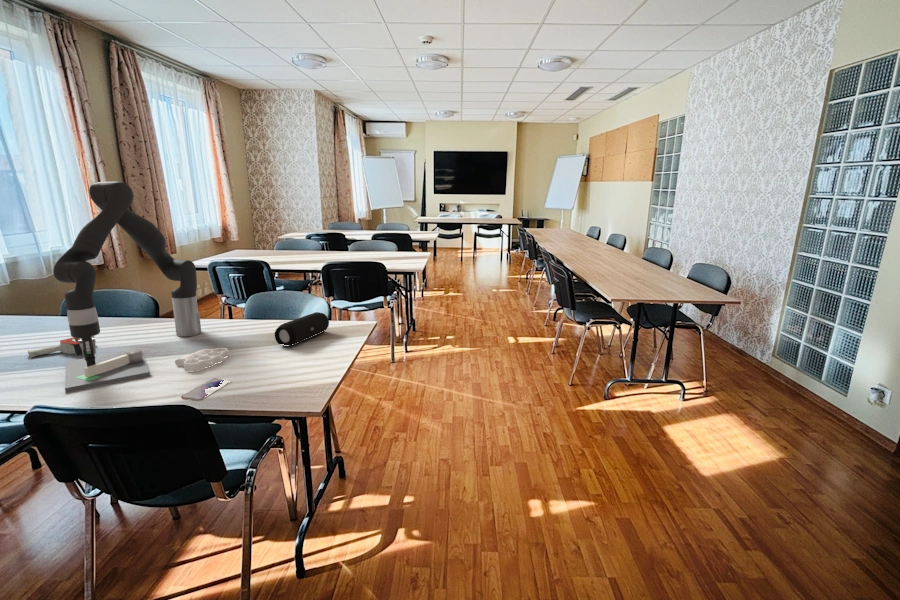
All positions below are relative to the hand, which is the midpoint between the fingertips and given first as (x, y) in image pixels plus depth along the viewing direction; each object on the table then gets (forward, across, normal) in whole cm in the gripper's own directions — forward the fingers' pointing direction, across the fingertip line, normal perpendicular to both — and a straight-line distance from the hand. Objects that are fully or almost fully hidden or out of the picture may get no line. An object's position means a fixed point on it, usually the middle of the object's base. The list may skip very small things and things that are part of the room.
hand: (92, 370), depth 147 cm
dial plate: (+2, +4, -4) cm, 6 cm away
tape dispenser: (+3, +35, +6) cm, 36 cm away
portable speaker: (+3, -2, -72) cm, 72 cm away
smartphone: (+3, -33, -28) cm, 43 cm away
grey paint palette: (+3, -7, -32) cm, 33 cm away
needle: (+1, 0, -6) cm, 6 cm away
